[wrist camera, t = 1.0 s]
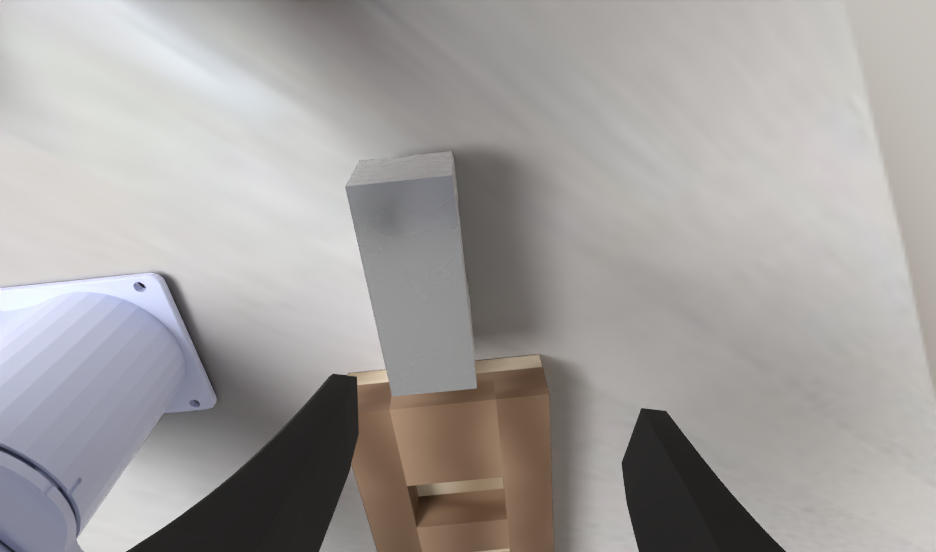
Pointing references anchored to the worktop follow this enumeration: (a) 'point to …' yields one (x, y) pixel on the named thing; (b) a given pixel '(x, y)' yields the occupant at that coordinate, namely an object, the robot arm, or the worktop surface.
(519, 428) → the wooden slotted board
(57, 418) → the robot arm
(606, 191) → the worktop surface
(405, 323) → the grey block
